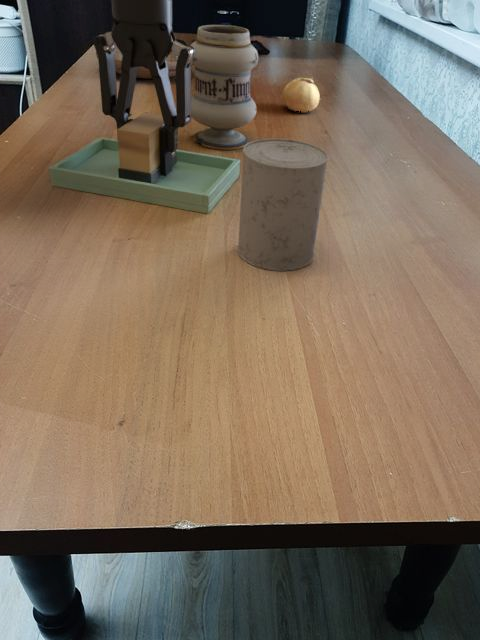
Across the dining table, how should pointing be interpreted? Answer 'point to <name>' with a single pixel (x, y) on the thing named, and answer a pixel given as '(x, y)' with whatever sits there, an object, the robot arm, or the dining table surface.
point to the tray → (171, 190)
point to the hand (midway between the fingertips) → (148, 169)
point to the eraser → (141, 148)
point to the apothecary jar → (223, 85)
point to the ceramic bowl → (143, 71)
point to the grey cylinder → (280, 203)
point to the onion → (301, 95)
